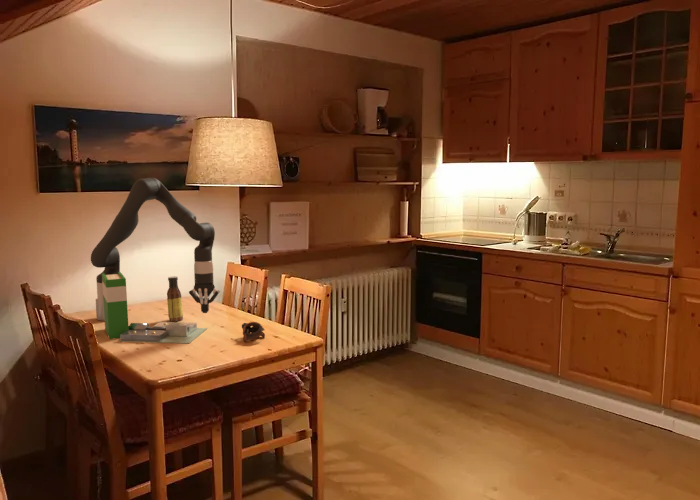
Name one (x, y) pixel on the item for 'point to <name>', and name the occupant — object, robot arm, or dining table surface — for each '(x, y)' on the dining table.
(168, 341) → the mat
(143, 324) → the grey stepped block
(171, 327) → the pale grey flat block
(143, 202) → the robot arm
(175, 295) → the sauce bottle
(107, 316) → the hardback book
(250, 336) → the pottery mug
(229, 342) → the dining table surface
